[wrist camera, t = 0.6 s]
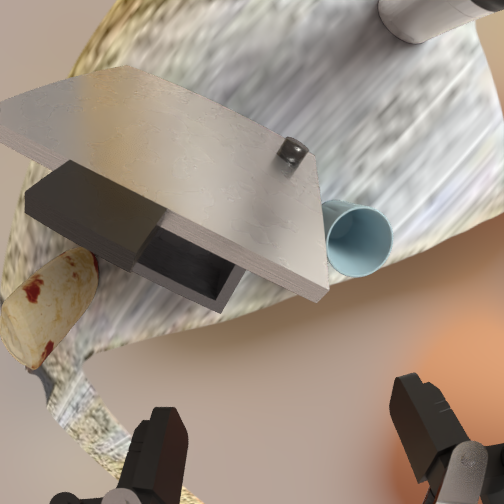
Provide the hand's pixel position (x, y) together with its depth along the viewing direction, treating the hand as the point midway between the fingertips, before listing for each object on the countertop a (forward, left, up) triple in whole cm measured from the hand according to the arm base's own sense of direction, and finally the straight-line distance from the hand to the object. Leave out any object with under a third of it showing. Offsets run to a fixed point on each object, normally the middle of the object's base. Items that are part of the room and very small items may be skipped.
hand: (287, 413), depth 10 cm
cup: (-5, +9, -32) cm, 34 cm away
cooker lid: (-5, -10, -12) cm, 16 cm away
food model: (+18, -19, -32) cm, 41 cm away
